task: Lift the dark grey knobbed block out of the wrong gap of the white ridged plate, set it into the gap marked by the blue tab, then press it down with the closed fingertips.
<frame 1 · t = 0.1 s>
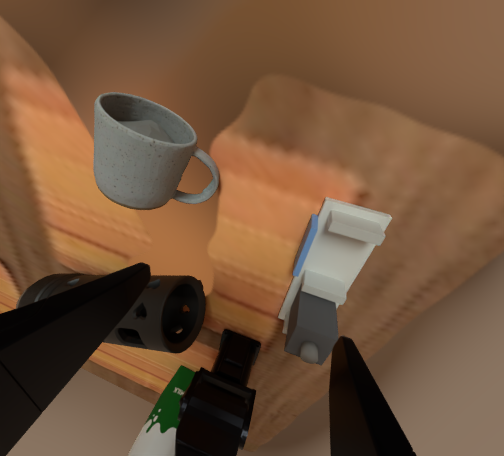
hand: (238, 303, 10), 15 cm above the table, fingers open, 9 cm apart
dark grey knobbed block: (311, 301, 26), point 1 cm above the table, touching white ridged plate
ceramic mug: (179, 155, 23), on the table
muzzle brake: (135, 280, 36), on the table
milk carton: (192, 378, 48), on the table
white ridged plate: (323, 273, 25), on the table
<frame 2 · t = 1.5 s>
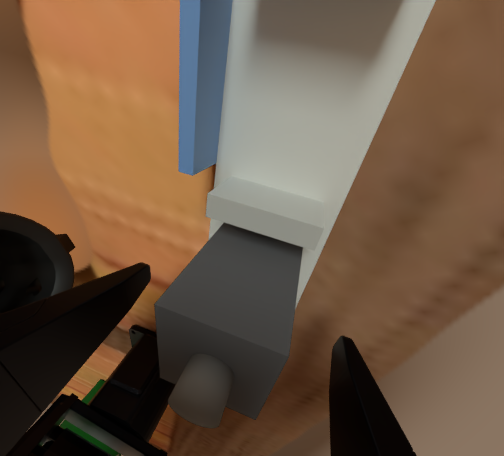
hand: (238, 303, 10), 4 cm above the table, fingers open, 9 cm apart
dark grey knobbed block: (256, 260, 12), point 1 cm above the table, touching white ridged plate
milk carton: (122, 396, 33), on the table
white ridged plate: (276, 192, 11), on the table
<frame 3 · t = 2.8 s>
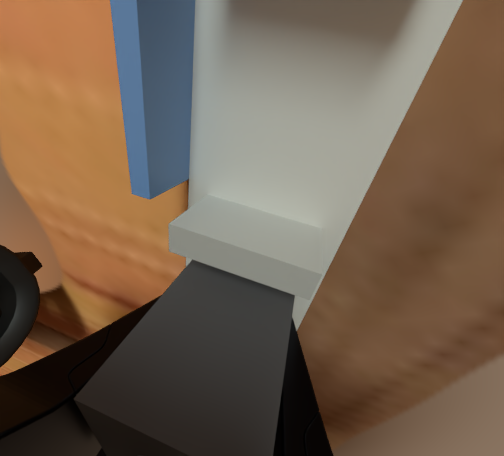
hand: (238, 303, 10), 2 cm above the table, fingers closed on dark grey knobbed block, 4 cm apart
dark grey knobbed block: (242, 292, 10), point 1 cm above the table, touching white ridged plate, gripper
white ridged plate: (264, 213, 9), on the table
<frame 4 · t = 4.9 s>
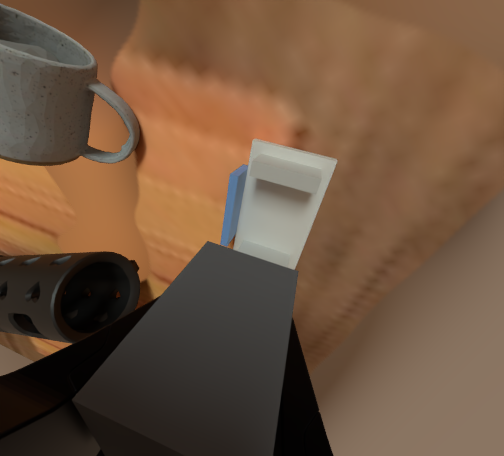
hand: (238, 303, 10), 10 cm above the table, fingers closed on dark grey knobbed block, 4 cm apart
dark grey knobbed block: (242, 292, 10), point 10 cm above the table, touching gripper
ceramic mug: (92, 102, 18), on the table
muzzle brake: (70, 263, 32), on the table
white ridged plate: (267, 246, 20), on the table
when the fingers open (3 cm above the table, at t = 6.8 s): dark grey knobbed block drops 1 cm, resting on white ridged plate.
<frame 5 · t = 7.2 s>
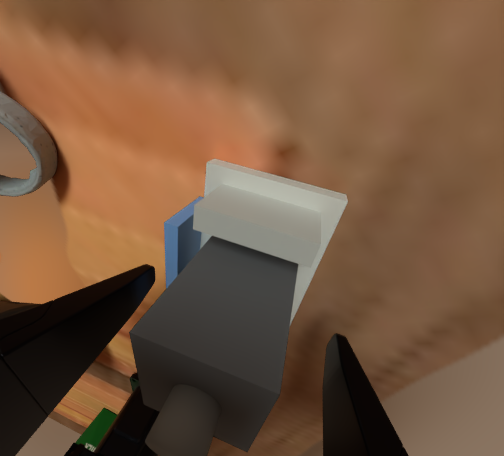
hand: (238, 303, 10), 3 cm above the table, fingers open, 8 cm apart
dark grey knobbed block: (251, 271, 11), point 1 cm above the table, touching white ridged plate
muzzle brake: (10, 301, 25), on the table
milk carton: (123, 422, 37), on the table
white ridged plate: (243, 307, 14), on the table
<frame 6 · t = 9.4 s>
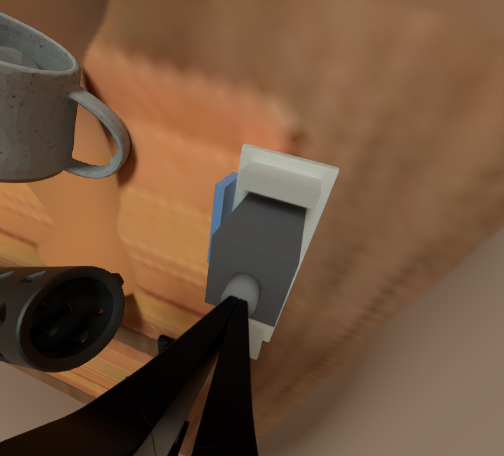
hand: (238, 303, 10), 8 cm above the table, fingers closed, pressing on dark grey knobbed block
dark grey knobbed block: (269, 228, 16), point 1 cm above the table, touching white ridged plate, gripper
ceramic mug: (77, 110, 17), on the table
muzzle brake: (53, 274, 30), on the table
white ridged plate: (261, 262, 18), on the table
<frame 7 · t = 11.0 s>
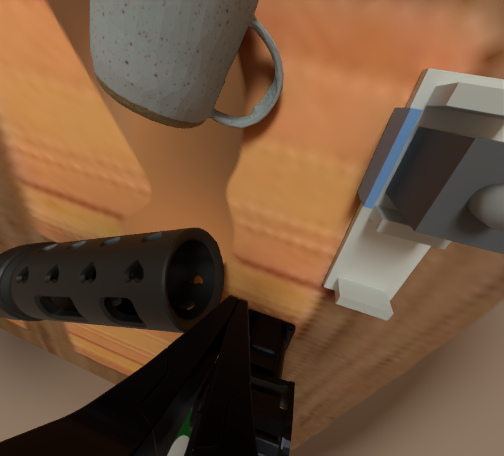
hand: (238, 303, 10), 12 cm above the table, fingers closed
dark grey knobbed block: (431, 168, 15), point 1 cm above the table, touching white ridged plate
ceramic mug: (218, 56, 16), on the table
muzzle brake: (132, 250, 29), on the table
milk carton: (205, 374, 40), on the table
white ridged plate: (398, 213, 17), on the table
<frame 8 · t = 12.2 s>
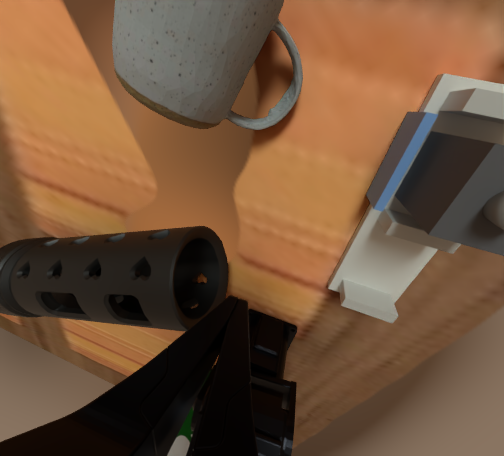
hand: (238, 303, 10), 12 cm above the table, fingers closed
dark grey knobbed block: (442, 173, 15), point 1 cm above the table, touching white ridged plate
ceramic mug: (235, 57, 16), on the table
muzzle brake: (134, 247, 29), on the table
milk carton: (203, 374, 40), on the table
white ridged plate: (406, 217, 17), on the table
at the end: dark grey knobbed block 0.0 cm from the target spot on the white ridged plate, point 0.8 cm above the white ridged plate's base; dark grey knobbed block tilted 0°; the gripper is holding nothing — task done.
